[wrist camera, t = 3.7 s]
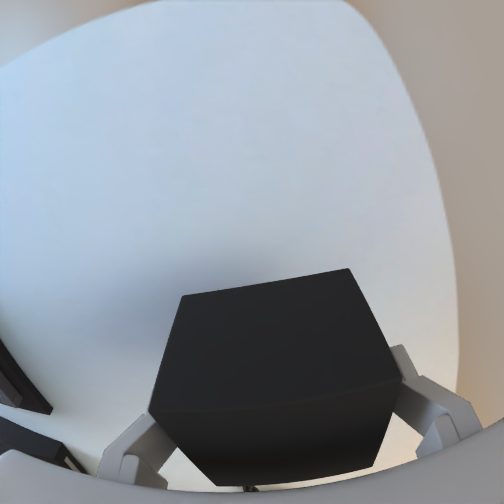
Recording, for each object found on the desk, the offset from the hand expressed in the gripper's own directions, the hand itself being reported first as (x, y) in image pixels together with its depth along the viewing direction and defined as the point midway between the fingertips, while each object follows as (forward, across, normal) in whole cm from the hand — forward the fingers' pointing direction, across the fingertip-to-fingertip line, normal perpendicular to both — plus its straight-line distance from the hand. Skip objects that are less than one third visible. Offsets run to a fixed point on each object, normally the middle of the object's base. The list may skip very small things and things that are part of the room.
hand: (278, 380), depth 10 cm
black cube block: (+2, 0, 0) cm, 2 cm away
